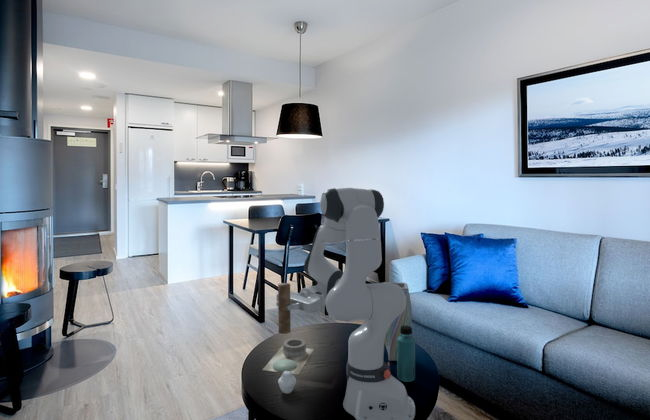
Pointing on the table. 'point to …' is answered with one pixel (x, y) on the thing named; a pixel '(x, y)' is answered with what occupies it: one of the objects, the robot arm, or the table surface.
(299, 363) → the birch board
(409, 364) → the beverage bottle
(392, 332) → the vase
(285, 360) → the sage pad
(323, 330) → the table surface
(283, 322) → the walnut peg
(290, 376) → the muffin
